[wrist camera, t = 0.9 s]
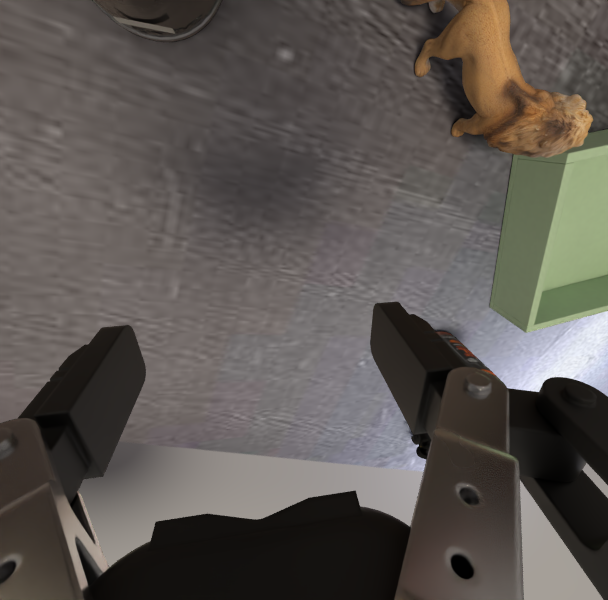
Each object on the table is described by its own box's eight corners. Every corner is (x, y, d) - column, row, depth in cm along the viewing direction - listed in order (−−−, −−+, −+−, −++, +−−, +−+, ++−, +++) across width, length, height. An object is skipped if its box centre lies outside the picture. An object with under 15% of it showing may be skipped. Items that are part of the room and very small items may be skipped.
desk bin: (514, 148, 30) (568, 153, 25) (677, 114, 31) (759, 111, 26) (489, 307, 38) (526, 333, 34) (617, 273, 40) (670, 294, 35)
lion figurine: (519, 116, 28) (628, 112, 20) (474, 167, 30) (559, 182, 22) (420, -39, 22) (522, -131, 14) (368, 35, 23) (435, -11, 16)
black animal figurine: (436, 430, 48) (456, 460, 44) (425, 440, 49) (444, 471, 45) (405, 418, 45) (422, 449, 41) (393, 429, 46) (410, 461, 42)
